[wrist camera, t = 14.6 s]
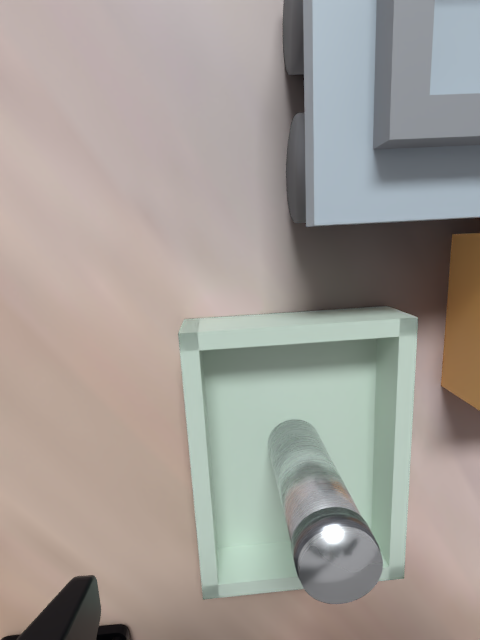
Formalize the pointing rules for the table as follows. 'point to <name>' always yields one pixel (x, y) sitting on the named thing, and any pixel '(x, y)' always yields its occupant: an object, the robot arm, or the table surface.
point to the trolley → (384, 110)
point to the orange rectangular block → (463, 321)
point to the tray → (285, 404)
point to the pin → (322, 518)
